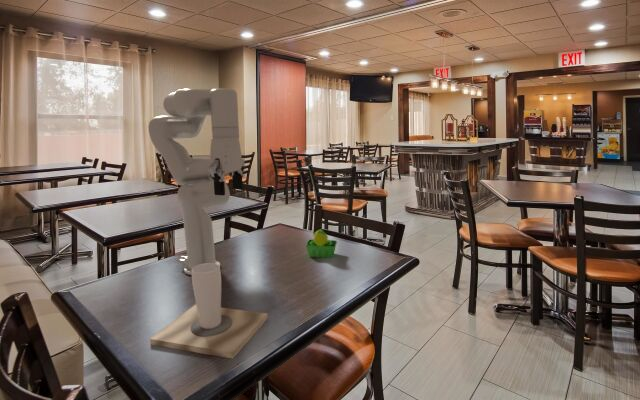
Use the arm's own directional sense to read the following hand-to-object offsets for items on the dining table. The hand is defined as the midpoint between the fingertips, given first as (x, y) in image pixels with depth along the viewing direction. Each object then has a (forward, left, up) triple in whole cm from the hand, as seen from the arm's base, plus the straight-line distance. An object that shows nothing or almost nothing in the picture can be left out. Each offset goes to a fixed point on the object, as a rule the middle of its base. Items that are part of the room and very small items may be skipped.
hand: (229, 191), depth 112 cm
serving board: (+6, -23, -31) cm, 39 cm away
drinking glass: (+6, -24, -30) cm, 38 cm away
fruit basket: (+17, +36, -31) cm, 50 cm away
